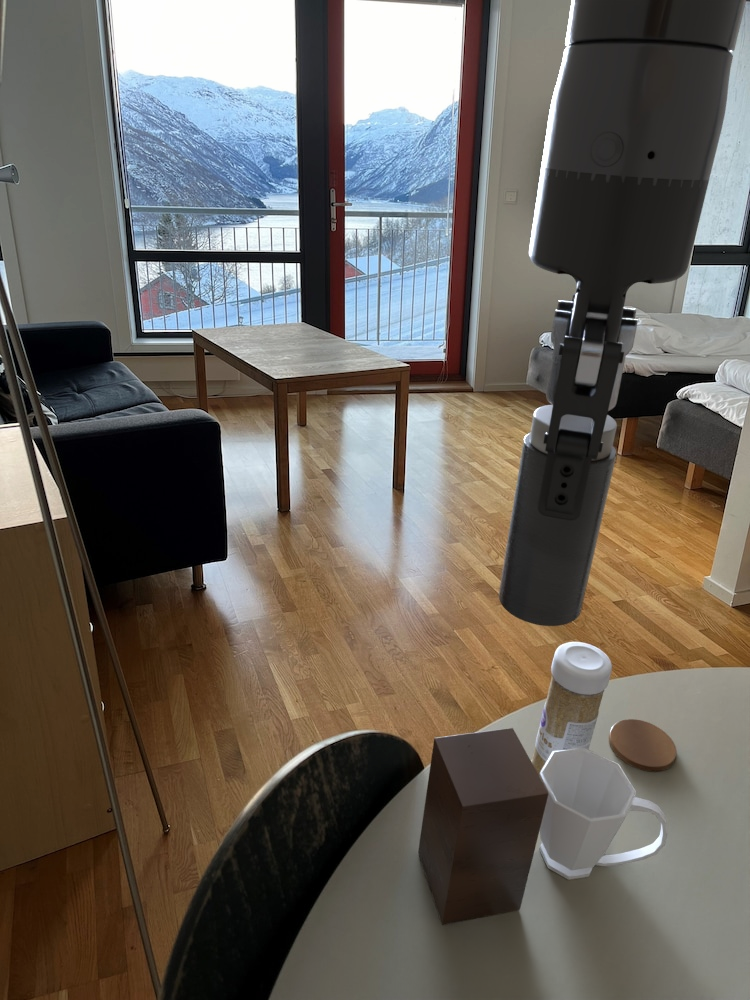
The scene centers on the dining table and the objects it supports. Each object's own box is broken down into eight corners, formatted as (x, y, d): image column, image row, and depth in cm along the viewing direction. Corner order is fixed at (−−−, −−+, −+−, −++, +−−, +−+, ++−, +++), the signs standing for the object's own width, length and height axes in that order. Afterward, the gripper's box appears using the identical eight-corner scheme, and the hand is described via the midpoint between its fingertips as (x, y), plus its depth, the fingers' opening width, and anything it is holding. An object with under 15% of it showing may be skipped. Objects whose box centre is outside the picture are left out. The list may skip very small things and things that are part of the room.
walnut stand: (489, 839, 59) (512, 727, 53) (520, 910, 54) (549, 793, 48) (417, 852, 57) (434, 737, 52) (442, 925, 52) (462, 807, 47)
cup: (523, 809, 62) (539, 738, 58) (646, 835, 60) (671, 763, 56) (521, 884, 55) (540, 810, 52) (659, 915, 54) (687, 840, 50)
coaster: (651, 720, 72) (653, 715, 72) (688, 766, 67) (690, 762, 67) (597, 727, 71) (598, 722, 71) (630, 776, 66) (631, 771, 65)
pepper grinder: (558, 576, 48) (593, 400, 42) (596, 622, 44) (641, 433, 38) (486, 582, 47) (513, 403, 41) (518, 630, 42) (553, 437, 37)
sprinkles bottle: (520, 760, 66) (546, 640, 60) (568, 756, 67) (598, 638, 61) (538, 801, 62) (568, 677, 56) (588, 797, 63) (623, 674, 57)
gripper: (733, 179, 27) (632, 570, 35) (695, 166, 39) (627, 457, 47) (527, 163, 29) (475, 540, 36) (553, 156, 41) (510, 438, 49)
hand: (561, 492), depth 42 cm, fingers closed on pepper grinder, 5 cm apart
